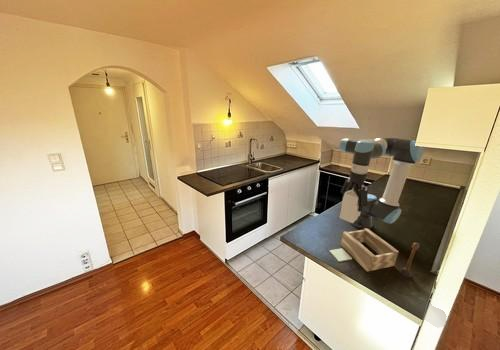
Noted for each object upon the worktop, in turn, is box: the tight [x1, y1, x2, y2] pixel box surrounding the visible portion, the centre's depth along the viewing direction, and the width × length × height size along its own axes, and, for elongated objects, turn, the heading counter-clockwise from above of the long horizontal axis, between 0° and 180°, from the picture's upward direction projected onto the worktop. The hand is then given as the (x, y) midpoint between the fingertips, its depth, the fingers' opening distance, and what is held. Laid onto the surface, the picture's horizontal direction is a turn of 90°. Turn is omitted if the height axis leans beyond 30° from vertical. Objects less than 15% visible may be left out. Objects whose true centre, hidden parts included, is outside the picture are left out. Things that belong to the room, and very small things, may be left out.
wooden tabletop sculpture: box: [399, 242, 420, 279], centre depth 106 cm, size 6×5×20 cm
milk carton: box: [339, 187, 360, 224], centre depth 109 cm, size 7×7×19 cm
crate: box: [340, 228, 400, 272], centre depth 120 cm, size 18×22×10 cm
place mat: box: [328, 247, 353, 263], centre depth 121 cm, size 9×9×1 cm
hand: (350, 211), depth 111 cm, fingers closed on milk carton, 10 cm apart
